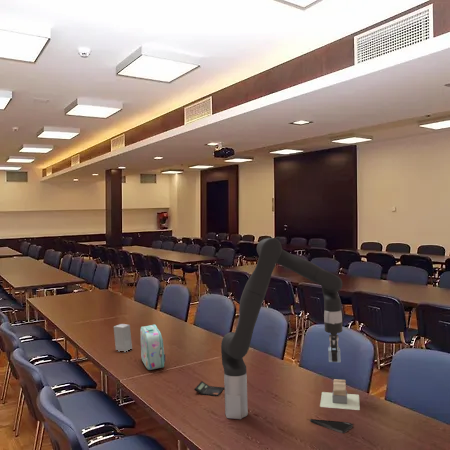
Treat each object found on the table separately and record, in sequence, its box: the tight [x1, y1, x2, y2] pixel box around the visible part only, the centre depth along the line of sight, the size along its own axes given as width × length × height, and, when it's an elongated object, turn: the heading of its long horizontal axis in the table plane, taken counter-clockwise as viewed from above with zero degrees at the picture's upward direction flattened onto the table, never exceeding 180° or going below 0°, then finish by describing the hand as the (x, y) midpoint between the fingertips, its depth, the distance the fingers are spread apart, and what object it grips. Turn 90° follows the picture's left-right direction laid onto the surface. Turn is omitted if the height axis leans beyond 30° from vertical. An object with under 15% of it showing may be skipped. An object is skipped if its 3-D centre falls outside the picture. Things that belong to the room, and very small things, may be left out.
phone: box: [309, 418, 354, 434], centre depth 177 cm, size 8×1×15 cm
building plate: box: [319, 391, 361, 411], centre depth 196 cm, size 16×16×1 cm
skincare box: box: [113, 323, 133, 353], centre depth 280 cm, size 8×7×16 cm
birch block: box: [332, 378, 347, 396], centre depth 196 cm, size 5×5×5 cm
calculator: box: [193, 380, 225, 397], centre depth 213 cm, size 9×12×3 cm
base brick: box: [332, 389, 348, 404], centre depth 196 cm, size 6×6×3 cm
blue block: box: [327, 346, 342, 363], centre depth 198 cm, size 5×5×5 cm
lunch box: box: [139, 323, 166, 371], centre depth 252 cm, size 27×10×21 cm, turn 20°
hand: (334, 359), depth 198 cm, fingers closed on blue block, 5 cm apart
